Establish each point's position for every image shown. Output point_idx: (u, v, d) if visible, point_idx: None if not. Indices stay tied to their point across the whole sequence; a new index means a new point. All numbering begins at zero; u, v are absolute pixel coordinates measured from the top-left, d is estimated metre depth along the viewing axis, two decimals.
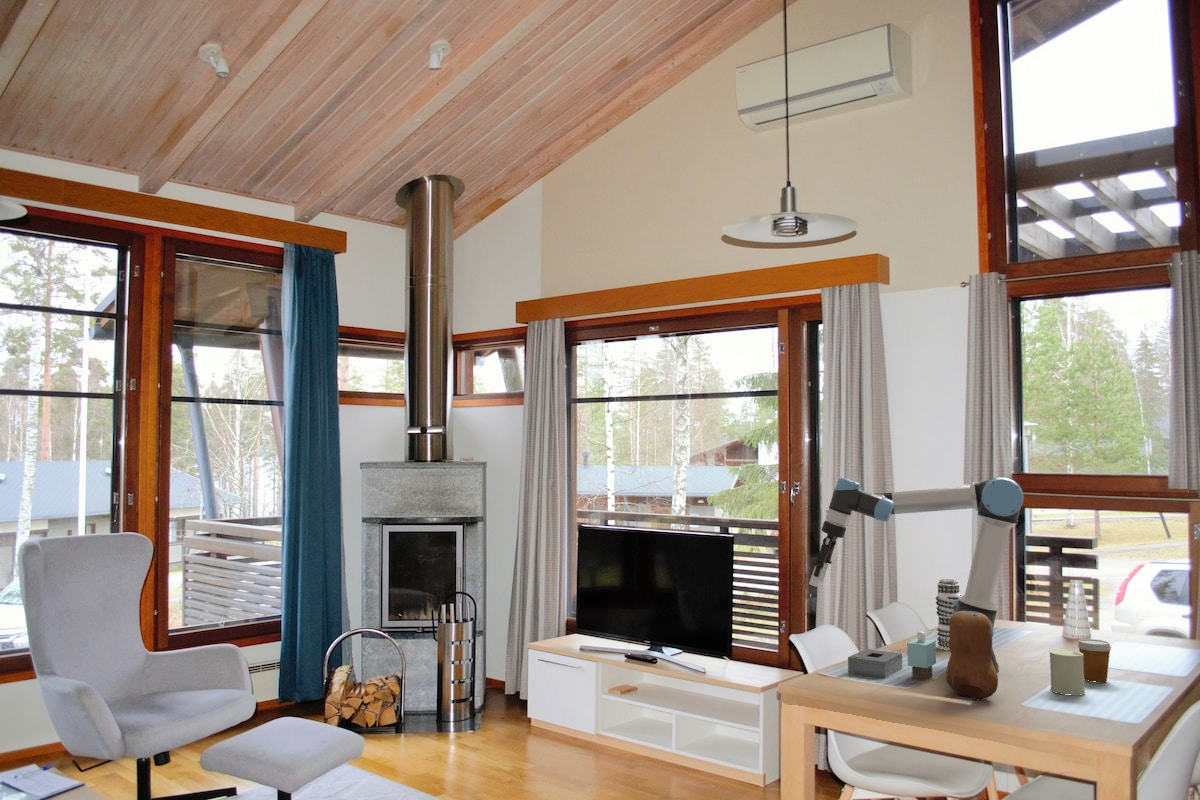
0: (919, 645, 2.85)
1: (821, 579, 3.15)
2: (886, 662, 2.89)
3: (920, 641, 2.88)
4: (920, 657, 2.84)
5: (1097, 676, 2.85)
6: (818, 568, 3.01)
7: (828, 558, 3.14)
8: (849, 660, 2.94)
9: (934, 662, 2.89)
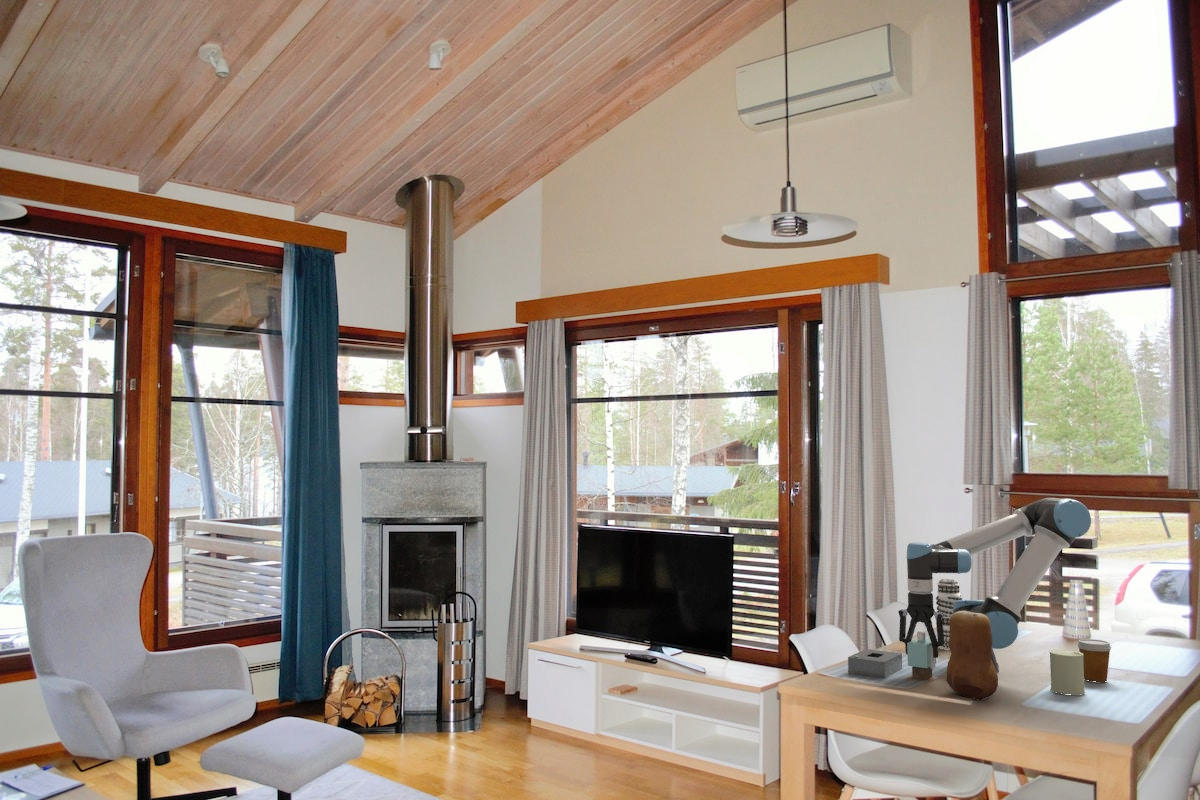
0: (919, 645, 2.85)
1: None
2: (886, 662, 2.89)
3: (920, 641, 2.88)
4: (920, 657, 2.84)
5: (1097, 676, 2.85)
6: (937, 648, 2.86)
7: (912, 635, 2.92)
8: (849, 660, 2.94)
9: None
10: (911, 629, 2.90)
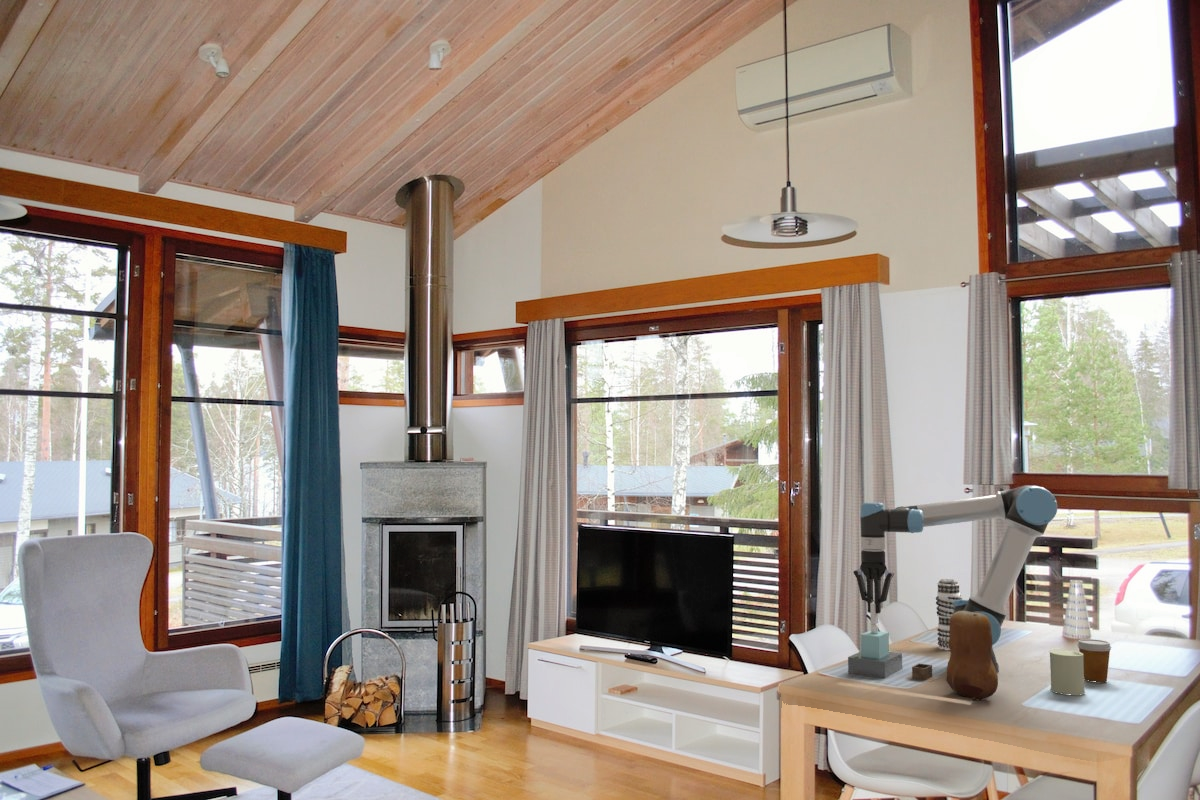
0: (871, 636, 2.94)
1: None
2: (886, 662, 2.89)
3: (873, 633, 2.97)
4: (873, 648, 2.94)
5: (1097, 676, 2.85)
6: (879, 604, 2.98)
7: (872, 593, 3.00)
8: (849, 660, 2.94)
9: (887, 653, 2.98)
10: (869, 587, 2.99)
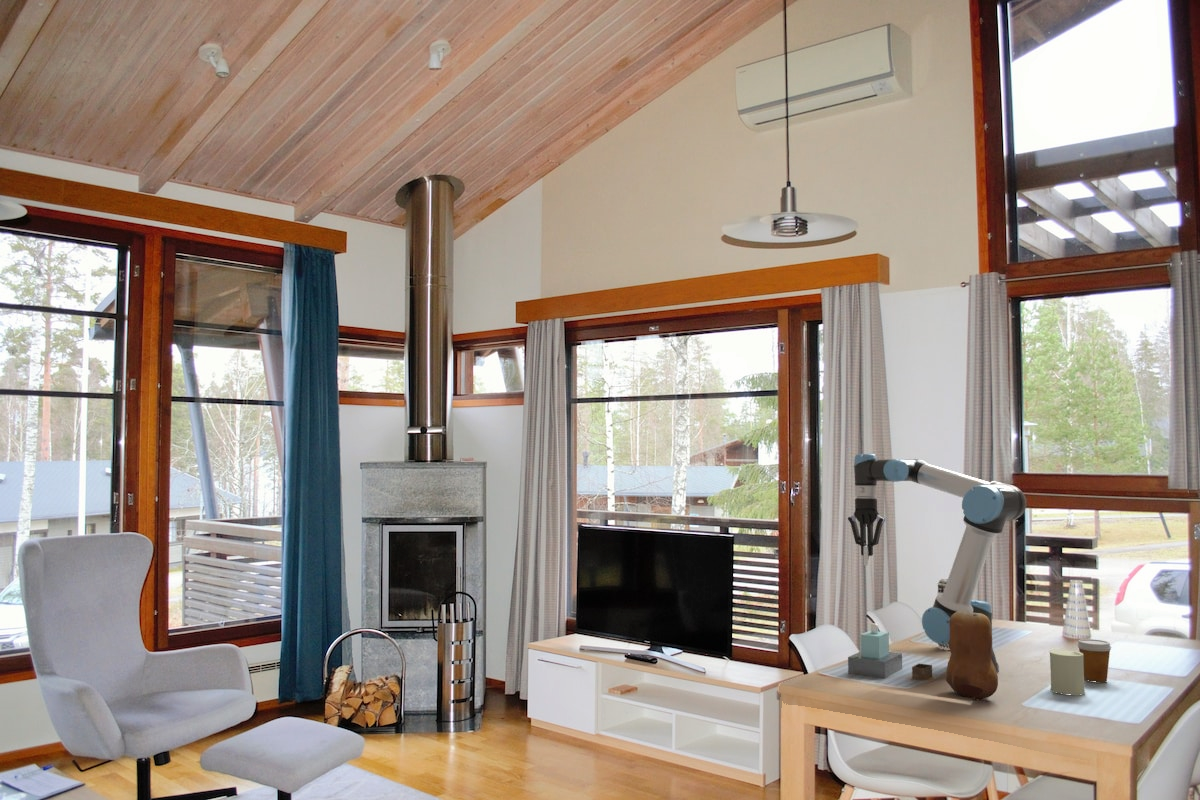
0: (871, 636, 2.94)
1: None
2: (886, 662, 2.89)
3: (873, 633, 2.97)
4: (873, 648, 2.94)
5: (1097, 676, 2.85)
6: (872, 547, 3.22)
7: (865, 538, 3.24)
8: (849, 660, 2.94)
9: (887, 653, 2.98)
10: (862, 531, 3.23)
